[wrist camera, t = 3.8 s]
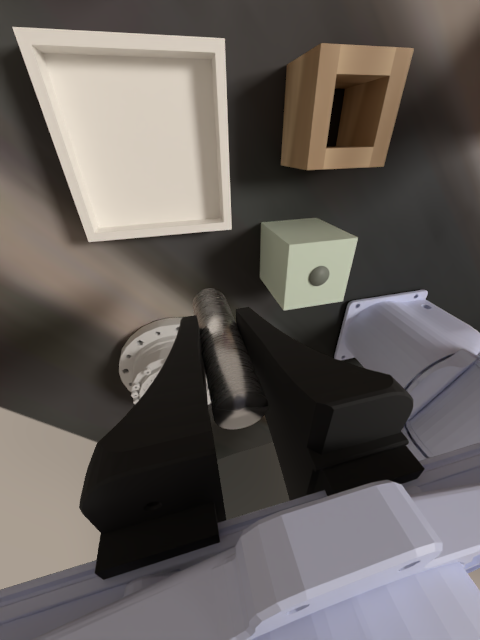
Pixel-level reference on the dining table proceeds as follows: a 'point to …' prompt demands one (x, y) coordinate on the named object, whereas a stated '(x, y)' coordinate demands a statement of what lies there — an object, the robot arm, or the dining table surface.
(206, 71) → the tray
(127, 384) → the mechanical component
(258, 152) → the dining table surface
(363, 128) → the wooden square holder
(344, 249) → the green block
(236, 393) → the pin
